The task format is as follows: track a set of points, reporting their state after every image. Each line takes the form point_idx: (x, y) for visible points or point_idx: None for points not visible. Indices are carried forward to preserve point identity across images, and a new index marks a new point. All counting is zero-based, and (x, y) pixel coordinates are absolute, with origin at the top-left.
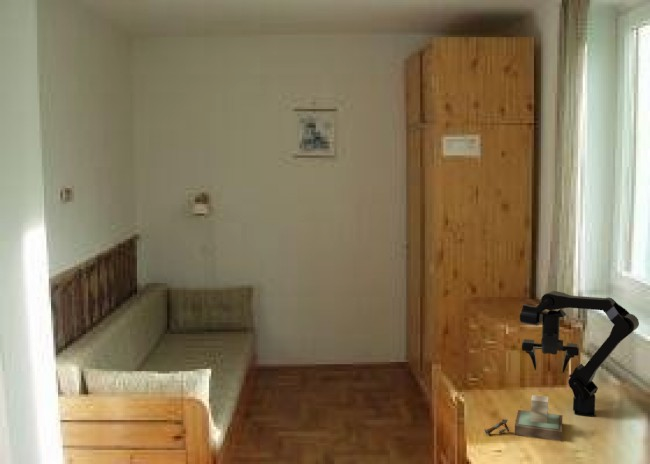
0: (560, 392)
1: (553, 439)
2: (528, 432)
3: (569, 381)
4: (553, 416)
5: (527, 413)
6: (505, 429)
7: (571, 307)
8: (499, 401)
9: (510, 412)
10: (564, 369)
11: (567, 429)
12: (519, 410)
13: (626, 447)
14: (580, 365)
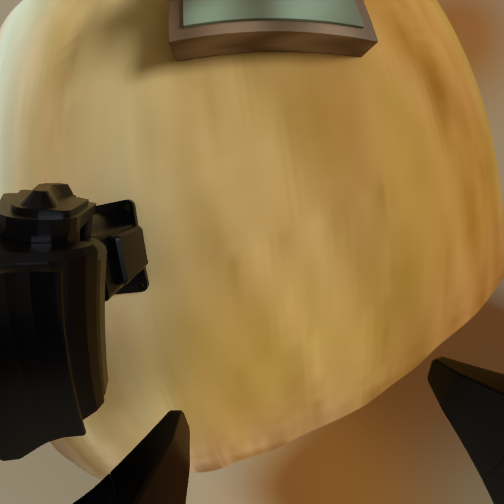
0: (241, 423)
1: None
2: None
3: (81, 243)
4: (209, 2)
5: (329, 2)
6: None
7: None
8: (448, 223)
9: (401, 113)
10: (154, 433)
11: (155, 28)
12: (371, 36)
13: (16, 34)
14: None
